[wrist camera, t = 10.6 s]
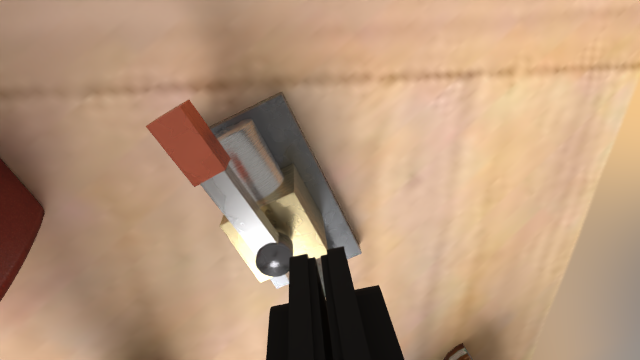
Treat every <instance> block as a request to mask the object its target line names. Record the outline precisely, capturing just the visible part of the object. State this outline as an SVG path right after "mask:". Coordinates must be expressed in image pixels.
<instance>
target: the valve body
mask: <svg viewBox="0 0 640 360" xmlns="http://www.w3.org/2000/svg"><path fill="white" fill-rule="evenodd" d="M209 128H210V130H211V131H212V133H213V134H214V135H215V137H216V138H217V140H218V141H219V142H220V144H221V145H222V147H223V148H224V149H225V151H226V152H227V154H228V155H229V156H230V158H231V159H230V161H229V166H230V167H231V169H232V170H233V171H234V173H235V174H236V176H237V177H238V178H239V180H240V181H241V182H242V184H243V185H244V187H245V188H246V189H247V191H248V192H249V194H250V195H251V196H252V198H253V199H254V200H255V202H256V203H257V205H258V206H259V207H260V209H261V210H262V212H263V213H264V214H265V216H266V217H267V218H268V220H269V221H270V223H271V224H272V225H273V227H274V228H275V230H276V231H277V232H279V233H283V234H285V235H287V236H288V237H289V238H290V239H291V240H292V242H293V256H298V255H303V254H308V257H309V258H312V257H315V258H316V262H317V266H318V270H319V274H320V279H321V283H322V287H323V291H324V295H325V288H324V281H323V273H322V265H321V256H322V255H327V249H332V248H337V247H342V246H344V249H345V253H346V257H347V259H349V258H352V257H354V256H357V255H359V254H361V253H362V252H361V249H360V246H359V244H358V242H357V240H356V238H355V236H354V234H353V232H352V230H351V228H350V226H349V224H348V222H347V220H346V218H345V216H344V214H343V212H342V210H341V208H340V206H339V204H338V202H337V200H336V198H335V196H334V194H333V192H332V190H331V188H330V186H329V184H328V182H327V180H326V178H325V176H324V174H323V172H322V170H321V168H320V166H319V164H318V162H317V160H316V158H315V156H314V154H313V152H312V151H311V149H310V147H309V145H308V143H307V141H306V139H305V137H304V135H303V133H302V131H301V129H300V127H299V125H298V123H297V121H296V119H295V117H294V115H293V113H292V111H291V109H290V107H289V105H288V103H287V101H286V99H285V97H284V95H283V93H282V92H280V93H278V94H276V95H274V96H272V97H270V98H268V99H266V100H264V101H262V102H260V103H258V104H256V105H254V106H251V107H249V108H247V109H245V110H243V111H241V112H239V113H237V114H235V115H233V116H231V117H229V118H227V119H225V120H223V121H221V122H219V123H217V124H215V125H213V126H211V127H209ZM220 227H221V228H222V229H223V231H224V232H225V234H226V235H227V237H228V238H229V239H230V241H231V242H232V244H233V245H234V246H235V248H236V249H237V251H238V252H239V253H240V255H241V256H242V258H243V259H244V260H245V262H246V263H247V265H248V266H249V267H250V269H251V270H252V272H253V273H254V275H255V276H256V277H257V279H258V280H259V282H260V283H261V282H263V281H265V280H268V279H270V280H271V281H272V283H273V284H274V286H275V287H276V288H280V287H282V286H285V285H287V284H289V272H288V273H286V274H284V275H282V276H278V277H270V276H267V275H264V274H262V273H261V272H260V271H259V270H258V269H257V267H256V263H255V260H256V254H255V253H254V252H253V251H252V249H251V248H250V247H249V246H248V244H247V243H246V242H245V241H244V239H243V238H242V237H241V235H240V234H239V233H238V232H237V230H236V229H235V228H234V227H233V225H232V224H231V223H230V221H229V220H228V219H227V218H226V216H225V215H223V218H222V221H221V224H220ZM325 297H326V296H325Z"/></svg>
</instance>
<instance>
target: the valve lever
mask: <svg viewBox="0 0 640 360" xmlns="http://www.w3.org/2000/svg"><path fill="white" fill-rule="evenodd" d="M146 127H147V128H148V130H149V131H150V132H151V133H152V135H153V136H154V137H155V138H156V140H157V141H158V142H159V143H160V145H161V146H162V147H163V148H164V150H165V151H166V152H167V153H168V155H169V156H170V157H171V158H172V160H173V161H174V162H175V163H176V165H177V166H178V167H179V168H180V170H181V171H182V172H183V173H184V175H185V176H186V177H187V178H188V180H189V181H190V182H191V183H192V185H193V186H194V187H195V186H197V185H199V184H200V185H201V186H202V187H203V188H204V190H205V191H206V192H207V193H208V195H209V196H210V197H211V199H212V200H213V201H214V202H215V204H216V205H217V206H218V207H219V209H220V210H221V211H222V213H223V214H224V215H225V216H226V218H227V219H228V220H229V221H230V223H231V224H232V225H233V227H234V228H235V229H236V230H237V232H238V233H239V234H240V235H241V237H242V238H243V239H244V241H245V242H246V243H247V244H248V246H249V247H250V248H251V249H252V251H253V252H254V253H255V254H256V260H255V263H256V267H257V269H258V270H259V271H260V272H261V273H262V274H264V275H267V276H270V277H278V276H282V275H284V274H286V273H288V272H289V258H290V257H293V242H292V240H291V239H290V238H289V237H288V236H287V235H285V234H283V233H279V232H277V231H276V230H275V228H274V227H273V225H272V224H271V223H270V221H269V220H268V218H267V217H266V216H265V214H264V213H263V212H262V210H261V209H260V207H259V206H258V205H257V203H256V202H255V200H254V199H253V198H252V196H251V195H250V194H249V192H248V191H247V189H246V188H245V187H244V185H243V184H242V182H241V181H240V180H239V178H238V177H237V176H236V174H235V173H234V171H233V170H232V169H231V167H230V166H229V161H230V159H231V158H230V156H229V155H228V154H227V152H226V151H225V149H224V148H223V147H222V145H221V144H220V142H219V141H218V140H217V138H216V137H215V135H214V134H213V133H212V131H211V130H210V128H209V127H208V126H207V124H206V123H205V121H204V120H203V118H202V117H201V116H200V114H199V113H198V111H197V110H196V109H195V107H194V106H193V104H192V103H191V102H190V100H187V101H185V102H184V103H182V104H180V105H179V106H177V107H175V108H174V109H172V110H170V111H169V112H167V113H165V114H164V115H162V116H160V117H159V118H157V119H156V120H154V121H153V122H151V123H150V124H148V125H147V126H146Z"/></svg>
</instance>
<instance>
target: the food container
mask: <svg viewBox="0 0 640 360" xmlns="http://www.w3.org/2000/svg"><path fill="white" fill-rule="evenodd" d="M443 360H473V359H472V358H471V356H470V354H469V353H468V351H467V350H466V348H465V346H464V345H463V343H462V344H460V345H458V346H456V347H455V348H454V349H452V350H451V351H450V352H449V353H448V354H447V355H446V357H445V358H444V359H443Z"/></svg>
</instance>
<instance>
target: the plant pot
mask: <svg viewBox="0 0 640 360" xmlns="http://www.w3.org/2000/svg"><path fill="white" fill-rule="evenodd" d="M43 217H44V210H43V208H42V206H41V205H40V204H39V203H38V202H37V200H36V199H35V198H34V197H33V196H32V195H31V193H30V192H29V191H28V190H27V189H26V188H25V187H24V185H23V184H22V183H21V182H20V181H19V180H18V179H17V177H16V176H15V175H14V174H13V173H12V172H11V170H10V169H9V168H8V167H7V166H6V165H5V163H4V162H3V161H2V160H1V159H0V301H1V300H2V298H3V297H4V295H5V294H6V292H7V290H8V289H9V287H10V285H11V284H12V282H13V280H14V279H15V277H16V275H17V274H18V272H19V270H20V268H21V266H22V265H23V263H24V261H25V259H26V257H27V255H28V253H29V251H30V249H31V247H32V245H33V243H34V240H35V238H36V236H37V233H38V231H39V229H40V226H41V223H42V220H43Z"/></svg>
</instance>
